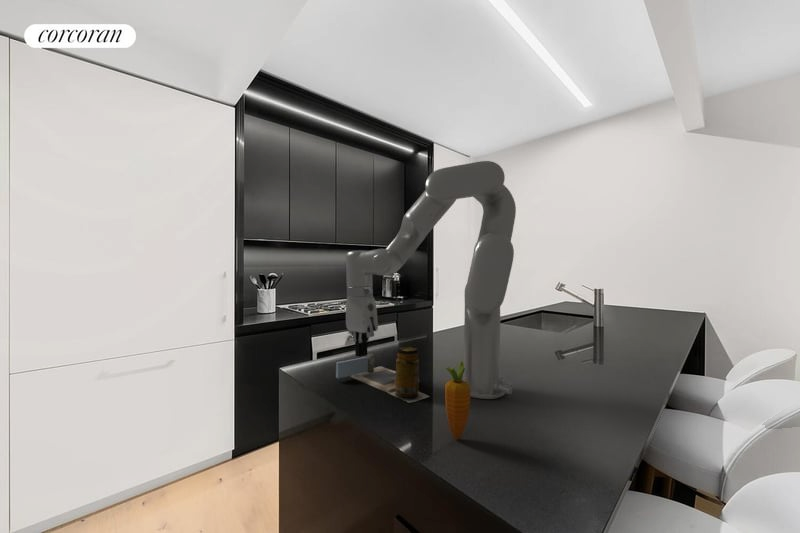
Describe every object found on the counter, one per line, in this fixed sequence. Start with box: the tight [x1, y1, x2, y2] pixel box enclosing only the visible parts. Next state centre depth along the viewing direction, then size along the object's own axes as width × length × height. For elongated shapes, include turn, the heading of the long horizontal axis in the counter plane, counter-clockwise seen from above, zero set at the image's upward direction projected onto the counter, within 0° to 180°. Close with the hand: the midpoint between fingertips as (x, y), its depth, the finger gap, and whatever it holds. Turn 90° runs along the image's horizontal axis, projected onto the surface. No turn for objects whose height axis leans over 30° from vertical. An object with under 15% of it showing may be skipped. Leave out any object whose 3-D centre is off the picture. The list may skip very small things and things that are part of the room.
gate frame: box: [350, 353, 420, 394], centre depth 99 cm, size 17×12×6 cm
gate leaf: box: [335, 356, 368, 379], centre depth 99 cm, size 10×1×4 cm, turn 130°
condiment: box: [387, 346, 431, 404], centre depth 87 cm, size 7×8×12 cm
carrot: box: [444, 360, 471, 441], centre depth 65 cm, size 5×5×15 cm
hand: (361, 355), depth 98 cm, fingers closed
